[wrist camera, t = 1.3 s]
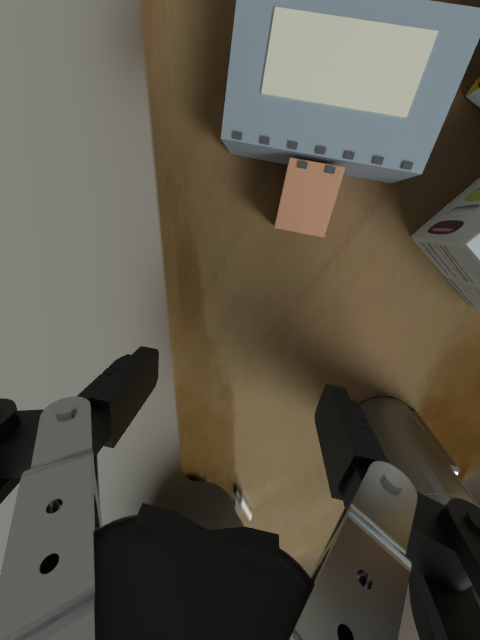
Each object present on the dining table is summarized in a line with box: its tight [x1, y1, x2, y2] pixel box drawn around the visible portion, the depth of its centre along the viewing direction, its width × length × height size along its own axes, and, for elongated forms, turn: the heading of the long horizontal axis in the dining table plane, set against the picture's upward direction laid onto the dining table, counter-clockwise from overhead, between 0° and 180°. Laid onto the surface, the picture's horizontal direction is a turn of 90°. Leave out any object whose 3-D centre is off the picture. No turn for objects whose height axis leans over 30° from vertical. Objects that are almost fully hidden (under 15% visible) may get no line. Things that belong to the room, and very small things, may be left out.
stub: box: [274, 158, 346, 237], centre depth 25 cm, size 5×6×6 cm
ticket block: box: [221, 0, 480, 183], centre depth 22 cm, size 18×10×6 cm, turn 80°
